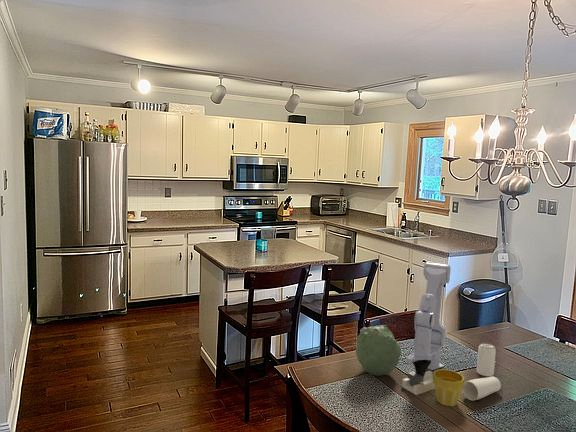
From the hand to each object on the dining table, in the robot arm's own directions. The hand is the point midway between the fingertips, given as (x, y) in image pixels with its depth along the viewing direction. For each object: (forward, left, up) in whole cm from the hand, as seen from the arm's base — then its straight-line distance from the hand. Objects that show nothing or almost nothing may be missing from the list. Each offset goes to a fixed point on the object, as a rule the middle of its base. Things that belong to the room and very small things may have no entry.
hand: (420, 377), depth 167 cm
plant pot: (+12, +1, -4) cm, 12 cm away
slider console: (0, +2, -4) cm, 4 cm away
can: (+5, +34, -4) cm, 34 cm away
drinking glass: (+15, +24, -1) cm, 28 cm away
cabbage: (-16, -6, -4) cm, 18 cm away
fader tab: (0, -3, -2) cm, 4 cm away
